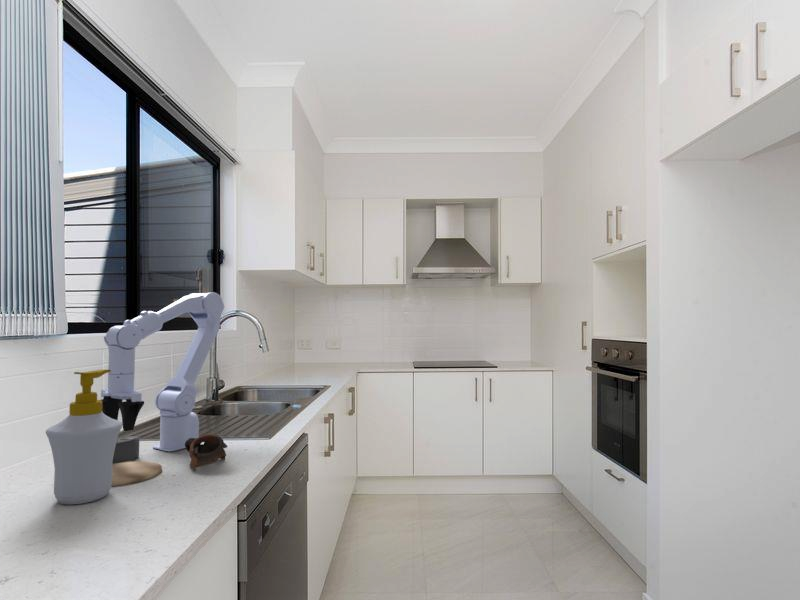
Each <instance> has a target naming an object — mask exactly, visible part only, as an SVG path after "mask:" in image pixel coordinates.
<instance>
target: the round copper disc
mask: <svg viewBox="0 0 800 600" xmlns="http://www.w3.org/2000/svg"><path fill="white" fill-rule="evenodd" d="M162 469H163V466H162V464H161V463H159V462H155V461H148V460H141V461H140V460H131V461H126V462H121V463H114V464H113V465H112V485H111V487H120V486H125V485H130V484H131V485H132V484H136V483H140V482H143V481H147V480H150V479H152V478H155V477H157V476H158V475H160V474H161V473H162Z"/></svg>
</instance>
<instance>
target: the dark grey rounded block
mask: <svg viewBox="0 0 800 600" xmlns="http://www.w3.org/2000/svg"><path fill="white" fill-rule="evenodd" d="M139 458H140V436H138V435H137V436H136V435H134V436H133V435H132V436H130V435H129V436H125V437H121V438H120V437H118V438H117V442H116V446H115V450H114V456H113V464H114V463H121V462H131V461H136V460H137V459H139Z"/></svg>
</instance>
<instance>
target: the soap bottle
mask: <svg viewBox="0 0 800 600" xmlns="http://www.w3.org/2000/svg"><path fill="white" fill-rule="evenodd" d="M110 371H111V370H108V369H96V370H89V371H84V372H81V371H80V372H78V371H77V372H76V371H74V373H73V375H80V380H79V381H80V383H79V385H80V386H81V392H77V393H76V395H75V401H73V402H72V401H71V402H69V412H68V413H69V414H68V416H67V417H65V418H64V419H63V420H61V421H60V422H58V423H56V424H54V425H51V426H50V427H49V428H47V429H46V430H45V434H46V437H47V439H48V441H49V445H50V448H51V452H52V459H53V465H54V466H53V467H54V477H53V479H54V480H53V494H54V497H55V499H56V501H58V503H59V504H61V505H62V504H63V505H80V504H87V503H90V502H91V503H93V502H94V501H97V500H100V499H103V498H105V497H106V496H108V493H109V492H110V491H111V488H112V486H111V485H112V465H113V456H114V450H115V446H116V442H117V439H118V438H119V435H120V432H121V429H123V423H122V421H120V420H119V419H118V420H115V419H112V418H110V417H108V416H106V415H105V414H104V413H103V412H102V401H101V399H98V393H97V392H95V391H92V387H93V385H94V379H98V378H100V377H102V376H103V375H105V374H108V372H110Z"/></svg>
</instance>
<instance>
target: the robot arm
mask: <svg viewBox="0 0 800 600" xmlns="http://www.w3.org/2000/svg"><path fill="white" fill-rule="evenodd" d="M224 309H225V304H224V302H223V298H222V297H221V295H220V294H219V293H217V292H215V291H212V292H204V293H203V292H200V293H199V292H198V293H196V292H193V293H192V292H191V293H189V294H188V295H184V296H182V297H181V298H180V299H178V300H176V301H174V302H172V303H170V304H169V305H167V306H165V307H163V308H161V309H160V310H159V311H157V312H156V311H152V310H143V311H141V312H139V315H138V316H136V317H133V318H132V319H126V320H124V321H123V324H122V325H114V326H111V327H110V328H109V329H108V330H107V332H106V333H105V336H103V341H104V343H105V344H106V346H107V348H108V367H107V368H108V369H107V370H111V371H110V372H108V373H107V374H108V375H107V388H105V389H101V390H100V398H102V399H100V400H101V401H102V412H103V413H104V414H105V415H106V416H108V417H110V418H112V419H115V420H118V421H119V413H120V414H121V422H122V423H123V426H122V429H123V432H128V431H134V429H135V425H136V422H137V419H138V415H139V413H140V411H141V410H142V408H143V406H144V405H145V401H144V400H142V396H143V393H142V392H138V391H137V390H135V370H136V369H135V368H136V367H135V363H136V362H135V359H136V347H137V346H139V345H140V343H141V341H142V340H144V339H146V338H148V337H150V336H152V335H153V334H156V333H157V332H159V331H161V330H162V328H163V325H164V323H167V322H169V321H170V320H173V319H175V318H177V317H179V316H181V315H184V314H186V313H188V314H189V316H190V317H191V318H192V319H193V321H194V322H195V323H196V325H197V329H196V332H195V334H194V335H193V338H192V340H191V342H190V344H189V347H188V349H187V351H186V352H185V355H184V357H183V359H182V361H181V363H180V365H179V367H178V369H177V371H176V373H175V375H174V377H173V378H171V379H170V380H169V381H167V382H166V383H165V384H164V387H163V388H162V389H161V390H160V391H159V392H158V393H157V394H156V396H155V399H154V403H155V404H154V405H155V407H156V408H157V410H158V411H159V415H160V416H159V417H160V419H159V420H160V421H159V422H160V424H159V425H160V426H159V444H156V445H153V446H152V448H153V449H156V450H161V451H164V452H175V451H179V450H184V449H186V447H185V442H186V441H187V440H188V439H189V438H198V437H200V435H199V433H200V420H199V417H198V415H197V414H196V413H195V412H193V411H192V410H193V409H194V407H195V405H196V397H197V394H198V392H199V391H198V389H197V387H196V384H195V383H196V381H197V378H198V377H199V374H200V372H201V370H202V368H203V365H204V363H205V361H206V359H207V357H208V355H209V352H210V351H211V348H212V345H214V344H213V343H214V341H215V340H216V337H217V335H218V333H219V330H220V329H221V317H222V314H223V311H224ZM123 400H124V401H123Z"/></svg>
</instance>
